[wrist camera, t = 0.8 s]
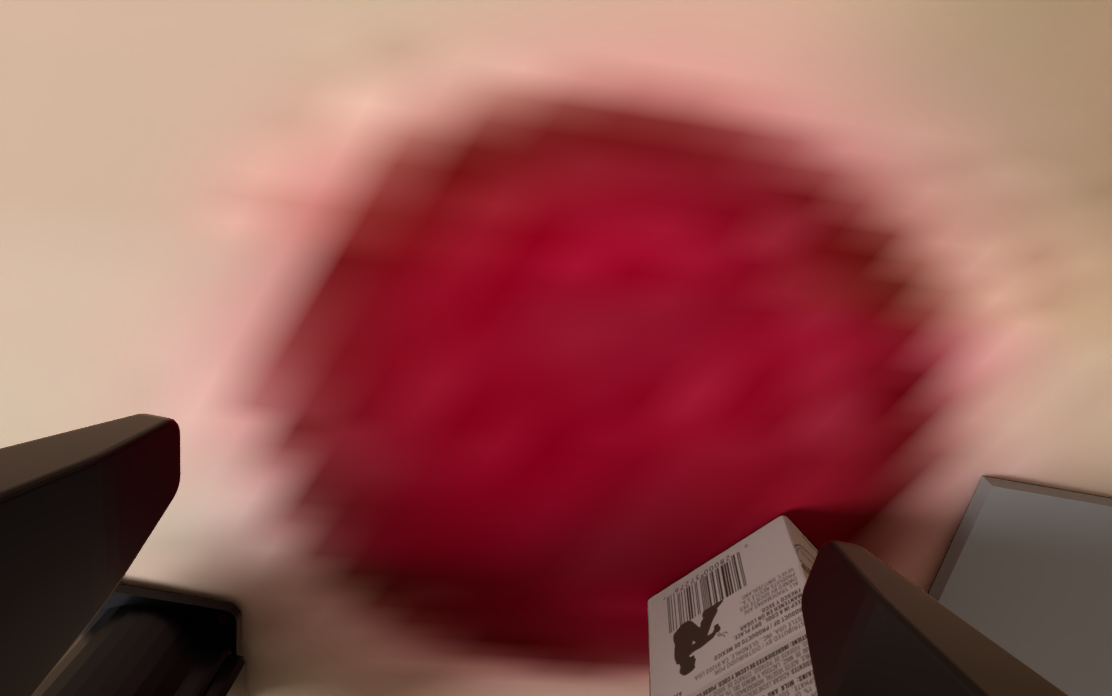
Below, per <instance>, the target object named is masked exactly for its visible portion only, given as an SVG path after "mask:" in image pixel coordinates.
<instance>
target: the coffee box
mask: <svg viewBox="0 0 1112 696" xmlns="http://www.w3.org/2000/svg"><path fill="white" fill-rule="evenodd" d="M817 553H818V550H817V549H816V548H815V547H814V546H813V545H812V544H811V543H810V542H809V540H808V539H807V538H806V537H805V536H804V535H803V534H802V533H801V532H800V530H799V529H798V528H797V527H796V526H795V525H794V524H793V523H792V522H791V521H790V520H789V519H788V518H787V516H784V515H783V516H779V517H777V518H776V519H774V520H773V521H771V522H769V523H768V524H766V525H765V526H763V527H762V528H760V529H758V530H757V531H755V532H754V533H752V534H751V535H749V536H747V537H746V538H744V539H743V540H741V541H740V542H738V543H736V544H735V545H733V546H732V547H730V548H728V549H727V550H725V551H724V552H722V553H720V554H719V555H717V556H716V557H714V558H713V559H711V560H709V561H708V562H706V563H705V564H703V565H702V566H700V567H698V568H697V569H695V570H694V571H692V572H691V573H689V574H688V575H686V576H685V577H683V578H681V579H680V580H678V581H676V582H675V583H673V584H672V585H670V586H668V587H667V588H665V589H664V590H662V591H661V592H659V593H658V594H656V595H654V596H653V597H651V598H650V599H649V600H648V634H649V675H650V696H818V695H817V690H816V685H815V679H814V674H813V668H812V663H811V658H810V652H809V647H808V641H807V636H806V630H805V625H804V620H803V614H802V608H801V600H802V593H803V589H804V586H805V584H806V581H807V579H808V576H809V574H810V571H811V568H812V566H813V563H814V561H815V558H816V556H817Z"/></svg>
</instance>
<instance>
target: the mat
mask: <svg viewBox="0 0 1112 696" xmlns="http://www.w3.org/2000/svg"><path fill="white" fill-rule="evenodd" d="M928 595H930V596H931V597H933V598H934V599H935V600H937V601H938V602H940V603H941V604H942V605H944V606H945V607H946V608H948V609H949V610H951V611H952V612H953V613H955V614H956V615H958V616H959V617H960V618H962V619H963V620H965V621H966V622H967V623H969V624H970V625H971V626H973V627H974V628H976V629H977V630H978V631H980V632H981V633H983V634H984V635H985V636H987V637H988V638H990V639H991V640H992V641H994V642H995V643H996V644H998V645H999V646H1001V647H1002V648H1003V649H1005V650H1006V651H1008V652H1009V653H1010V654H1012V655H1013V656H1015V657H1016V658H1017V659H1019V660H1020V661H1022V662H1023V663H1024V664H1026V665H1027V666H1028V667H1030V668H1031V669H1033V670H1034V671H1035V672H1037V673H1038V674H1040V675H1041V676H1042V677H1044V678H1045V679H1047V680H1048V681H1049V682H1051V683H1052V684H1053V685H1055V686H1056V687H1058V688H1059V689H1060V690H1062V691H1063V692H1065V693H1066V694H1067V695H1069V696H1112V498H1106V497H1100V496H1095V495H1089V494H1083V493H1077V492H1072V491H1066V490H1060V489H1054V488H1049V487H1043V486H1037V485H1031V484H1026V483H1020V482H1014V481H1008V480H1003V479H997V478H991V477H985V476H982V478H981V480H980V482H979V485H978V487H977V489H976V491H975V493H974V495H973V498H972V500H971V502H970V504H969V506H968V508H967V511H966V513H965V515H964V517H963V519H962V522H961V524H960V526H959V528H958V530H957V532H956V535H955V537H954V539H953V541H952V543H951V545H950V548H949V550H948V552H947V554H946V556H945V559H944V561H943V563H942V565H941V567H940V569H939V572H938V574H937V576H936V578H935V580H934V582H933V585H932V587H931V589H930V591H929V593H928Z"/></svg>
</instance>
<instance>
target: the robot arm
mask: <svg viewBox="0 0 1112 696" xmlns="http://www.w3.org/2000/svg"><path fill="white" fill-rule="evenodd" d="M179 482H180V430H179V426H178V424H177V423H176V422H175V421H174V420H173V419H170V418H166V417H160V416H155V415H150V414H137V415H133V416H129V417H125V418H121V419H117V420H113V421H109V422H105V423H101V424H97V425H93V426H89V427H85V428H81V429H77V430H73V431H69V432H65V433H61V434H57V435H53V436H49V437H45V438H41V439H37V440H33V441H29V442H25V443H21V444H17V445H13V446H9V447H5V448H1V449H0V696H246V661H245V659H244V657H243V656H241V631H242V614H241V611H240V609H239V608H238V607H237V606H236V605H234V604H232V603H229V602H224V601H218V600H212V599H206V598H199V597H193V596H187V595H181V594H175V593H169V592H163V591H157V590H151V589H145V588H139V587H132V586H126V585H120V584H119V583H120V581H121V580H122V578H123V577H124V575H125V573H126V572H127V570H128V569H129V567H130V566H131V564H132V562H133V561H134V559H135V558H136V556H137V555H138V553H139V551H140V550H141V548H142V547H143V545H144V544H145V542H146V540H147V539H148V537H149V536H150V534H151V533H152V531H153V529H154V528H155V526H156V525H157V523H158V522H159V520H160V518H161V517H162V515H163V514H164V512H165V511H166V509H167V507H168V506H169V504H170V503H171V501H172V500H173V498H174V496H175V494H176V492H177V489H178V486H179ZM801 608H802V614H803V620H804V625H805V630H806V636H807V641H808V647H809V652H810V658H811V663H812V668H813V674H814V679H815V685H816V690H817V695H818V696H1069V695H1067V694H1066V693H1065V692H1063V691H1062V690H1060V689H1059V688H1058V687H1056V686H1055V685H1053V684H1052V683H1051V682H1049V681H1048V680H1047V679H1045V678H1044V677H1042V676H1041V675H1040V674H1038V673H1037V672H1035V671H1034V670H1033V669H1031V668H1030V667H1028V666H1027V665H1026V664H1024V663H1023V662H1022V661H1020V660H1019V659H1017V658H1016V657H1015V656H1013V655H1012V654H1010V653H1009V652H1008V651H1006V650H1005V649H1003V648H1002V647H1001V646H999V645H998V644H996V643H995V642H994V641H992V640H991V639H990V638H988V637H987V636H985V635H984V634H983V633H981V632H980V631H978V630H977V629H976V628H974V627H973V626H971V625H970V624H969V623H967V622H966V621H965V620H963V619H962V618H960V617H959V616H958V615H956V614H955V613H953V612H952V611H951V610H949V609H948V608H946V607H945V606H944V605H942V604H941V603H940V602H938V601H937V600H935V599H934V598H933V597H931V596H930V595H928V594H927V593H926V592H924V591H923V590H921V589H920V588H919V587H917V586H916V585H914V584H913V583H912V582H910V581H909V580H908V579H906V578H905V577H903V576H902V575H901V574H899V573H898V572H896V571H895V570H894V569H892V568H891V567H889V566H888V565H887V564H885V563H884V562H883V561H881V560H880V559H878V558H877V557H876V556H874V555H873V554H871V553H870V552H869V551H867V550H866V549H864V548H863V547H862V546H860V545H857V544H854V543H848V542H843V541H837V540H827V541H825V542H824V543H823V544H822V545H821V547H820V549H819V551H818V553H817V556H816V558H815V561H814V563H813V566H812V568H811V571H810V574H809V576H808V579H807V581H806V584H805V586H804V589H803V593H802V600H801ZM223 615H224V616H227V617H228V618H226V617H224V616H223Z"/></svg>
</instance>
